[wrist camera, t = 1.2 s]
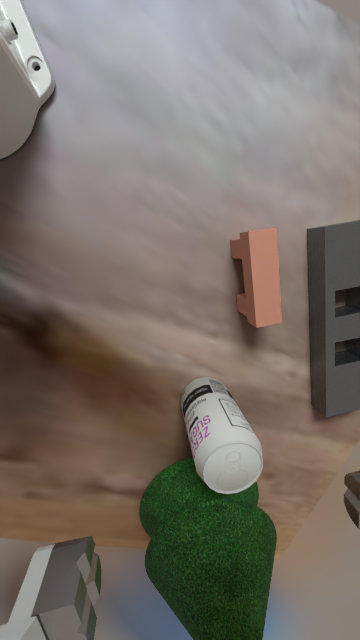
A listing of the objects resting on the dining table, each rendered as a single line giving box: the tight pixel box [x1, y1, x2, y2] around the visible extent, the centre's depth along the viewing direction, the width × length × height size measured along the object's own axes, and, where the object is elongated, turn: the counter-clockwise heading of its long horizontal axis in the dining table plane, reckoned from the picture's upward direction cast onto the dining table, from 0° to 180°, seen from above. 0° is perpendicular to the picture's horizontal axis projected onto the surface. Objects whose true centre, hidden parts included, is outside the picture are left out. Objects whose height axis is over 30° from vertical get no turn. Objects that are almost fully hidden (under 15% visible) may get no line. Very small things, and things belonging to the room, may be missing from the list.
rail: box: [307, 220, 360, 417], centre depth 42 cm, size 30×8×4 cm, turn 9°
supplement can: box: [180, 377, 263, 494], centre depth 37 cm, size 8×8×15 cm
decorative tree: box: [140, 457, 277, 640], centre depth 33 cm, size 19×19×30 cm
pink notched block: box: [230, 227, 282, 328], centre depth 36 cm, size 12×4×7 cm, turn 9°
